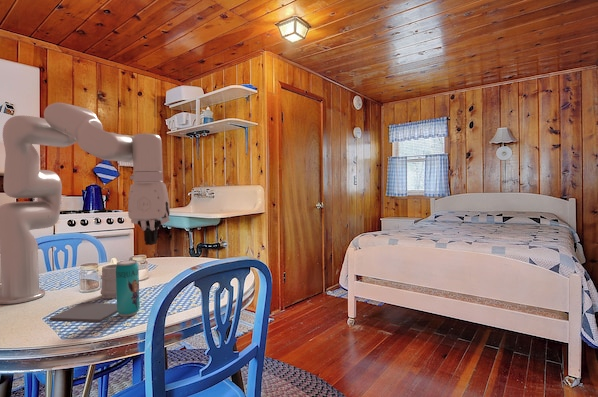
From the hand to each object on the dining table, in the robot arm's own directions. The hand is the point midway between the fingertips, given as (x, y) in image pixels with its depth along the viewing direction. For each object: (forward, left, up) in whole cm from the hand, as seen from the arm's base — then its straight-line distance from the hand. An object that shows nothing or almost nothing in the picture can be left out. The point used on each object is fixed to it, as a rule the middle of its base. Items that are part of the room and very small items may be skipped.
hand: (151, 243), depth 95 cm
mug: (-21, +17, -20) cm, 34 cm away
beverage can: (-7, 0, -20) cm, 22 cm away
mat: (-19, 0, -20) cm, 28 cm away
